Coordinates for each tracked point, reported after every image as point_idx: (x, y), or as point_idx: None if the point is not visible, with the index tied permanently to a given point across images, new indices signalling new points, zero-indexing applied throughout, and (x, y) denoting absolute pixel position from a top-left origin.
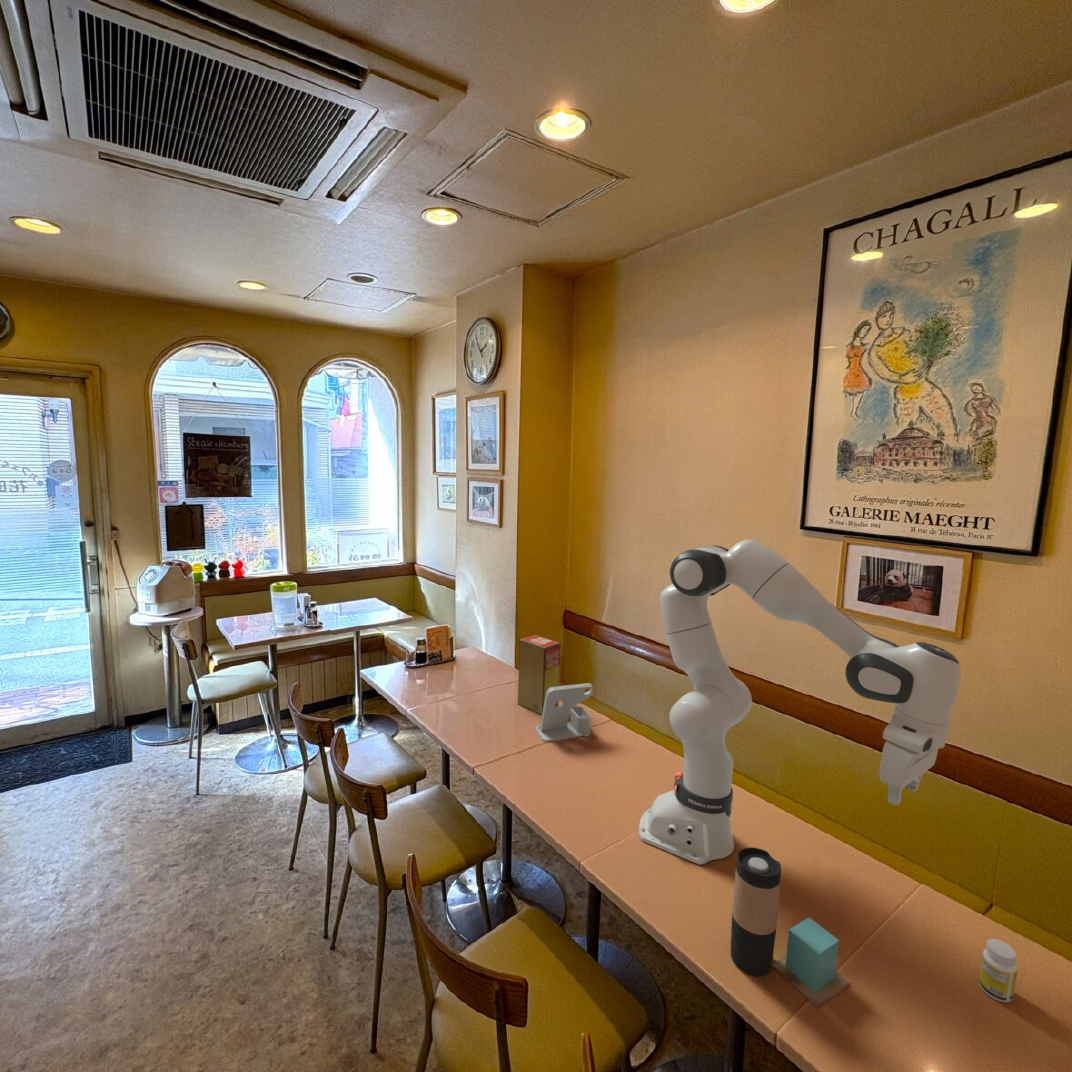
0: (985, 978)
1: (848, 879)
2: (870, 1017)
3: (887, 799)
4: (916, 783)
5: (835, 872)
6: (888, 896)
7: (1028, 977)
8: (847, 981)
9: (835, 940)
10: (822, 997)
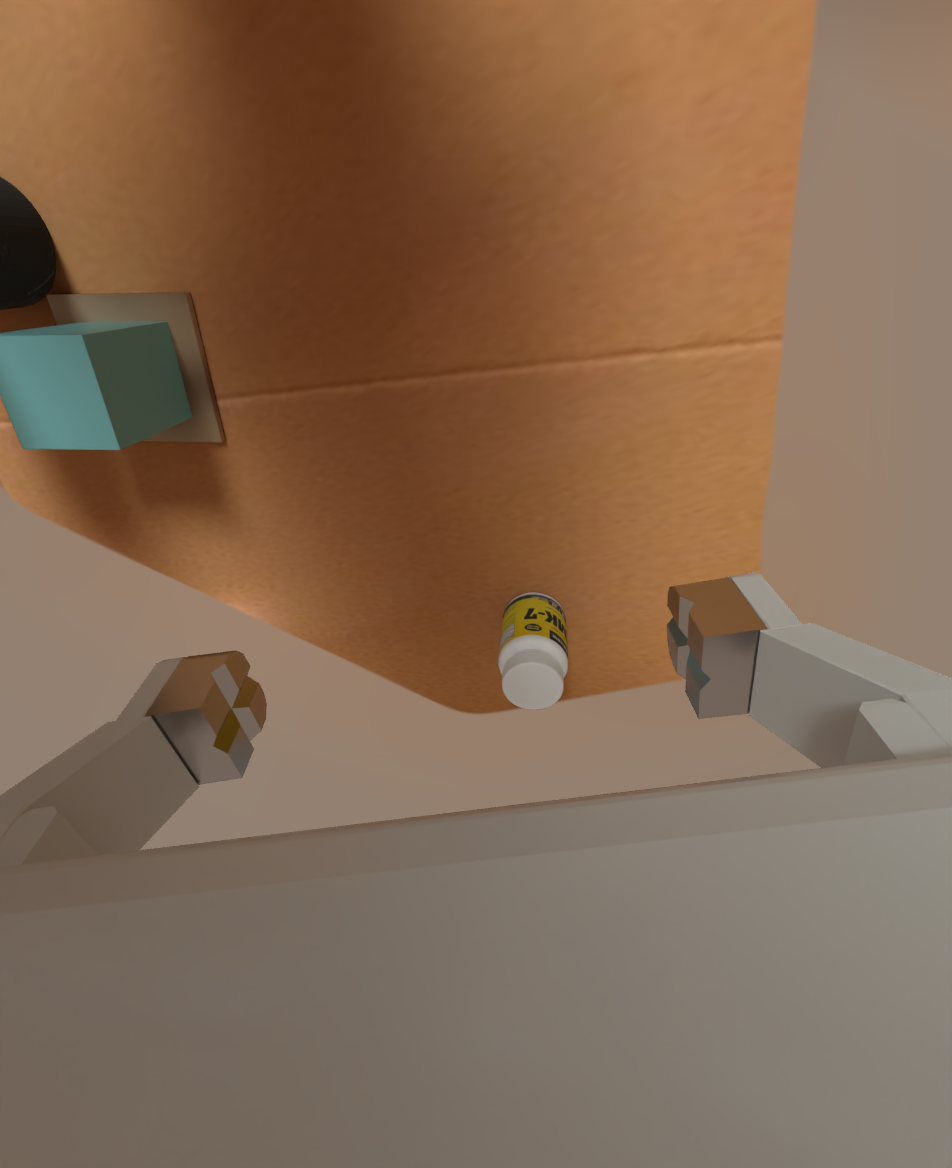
0: (503, 625)
1: (618, 153)
2: (206, 511)
3: (155, 666)
4: (727, 710)
5: (614, 84)
6: (653, 307)
7: (643, 639)
8: (216, 439)
9: (109, 444)
10: None
